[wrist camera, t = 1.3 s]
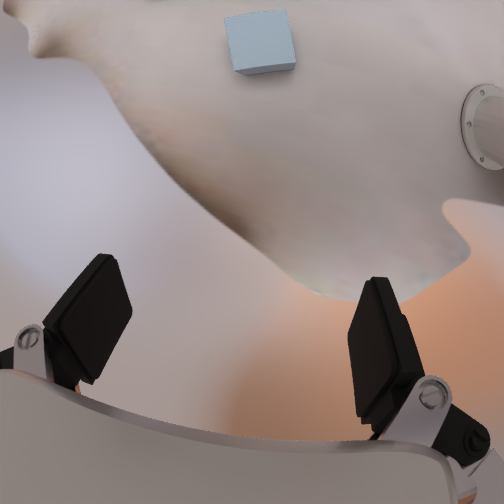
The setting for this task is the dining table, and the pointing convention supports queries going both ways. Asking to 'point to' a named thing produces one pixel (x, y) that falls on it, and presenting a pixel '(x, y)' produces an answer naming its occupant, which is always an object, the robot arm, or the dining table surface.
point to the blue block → (260, 42)
